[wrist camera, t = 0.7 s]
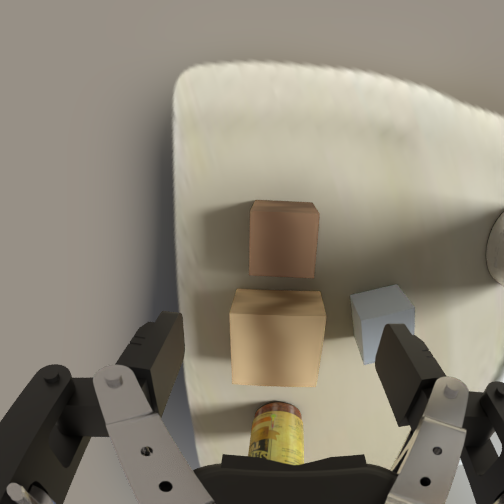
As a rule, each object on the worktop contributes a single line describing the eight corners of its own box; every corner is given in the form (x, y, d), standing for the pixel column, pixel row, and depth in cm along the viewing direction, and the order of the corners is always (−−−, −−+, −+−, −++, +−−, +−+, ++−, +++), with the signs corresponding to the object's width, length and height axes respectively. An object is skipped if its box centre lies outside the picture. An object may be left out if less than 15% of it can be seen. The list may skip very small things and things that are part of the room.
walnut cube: (312, 202, 27) (319, 214, 22) (308, 256, 28) (313, 278, 24) (255, 199, 27) (250, 210, 22) (254, 253, 29) (248, 275, 24)
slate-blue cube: (396, 283, 28) (414, 307, 24) (397, 325, 30) (413, 351, 25) (349, 294, 29) (361, 320, 24) (354, 335, 31) (364, 364, 26)
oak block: (319, 290, 29) (326, 316, 25) (312, 356, 32) (315, 386, 27) (237, 287, 30) (229, 313, 25) (238, 353, 33) (232, 383, 28)
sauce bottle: (261, 394, 34) (245, 548, 15) (310, 405, 34) (317, 552, 15) (246, 425, 36) (227, 559, 17) (291, 434, 36) (288, 565, 18)
